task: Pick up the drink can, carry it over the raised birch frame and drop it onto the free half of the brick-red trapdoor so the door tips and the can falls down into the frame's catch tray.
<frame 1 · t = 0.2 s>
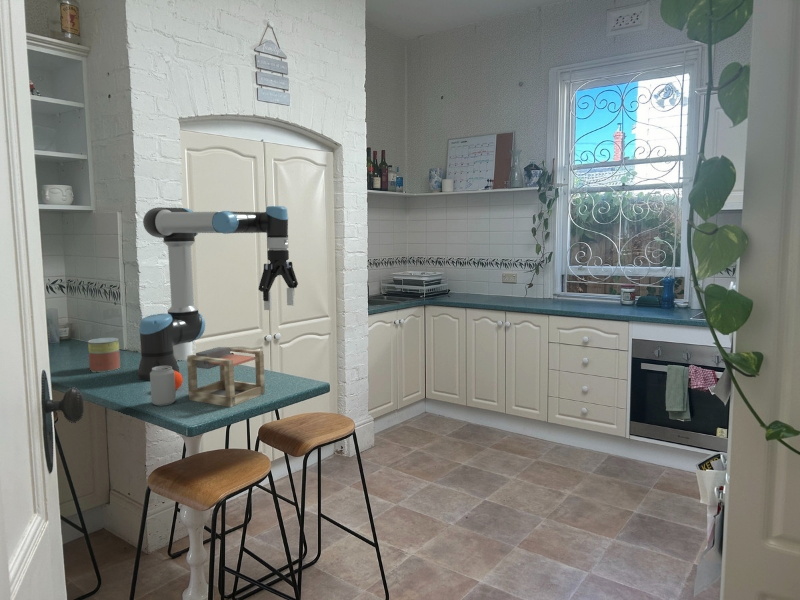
hand: (279, 307, 216), 28 cm above the breakfast bar, fingers open, 13 cm apart
can: (163, 403, 194), on the breakfast bar
clementine: (172, 390, 210), on the breakfast bar
trapdoor: (226, 359, 199), point 13 cm above the breakfast bar, hinge at 0.0°
canned food: (105, 369, 240), on the breakfast bar
mug: (185, 358, 259), on the breakfast bar
frame: (227, 396, 201), on the breakfast bar
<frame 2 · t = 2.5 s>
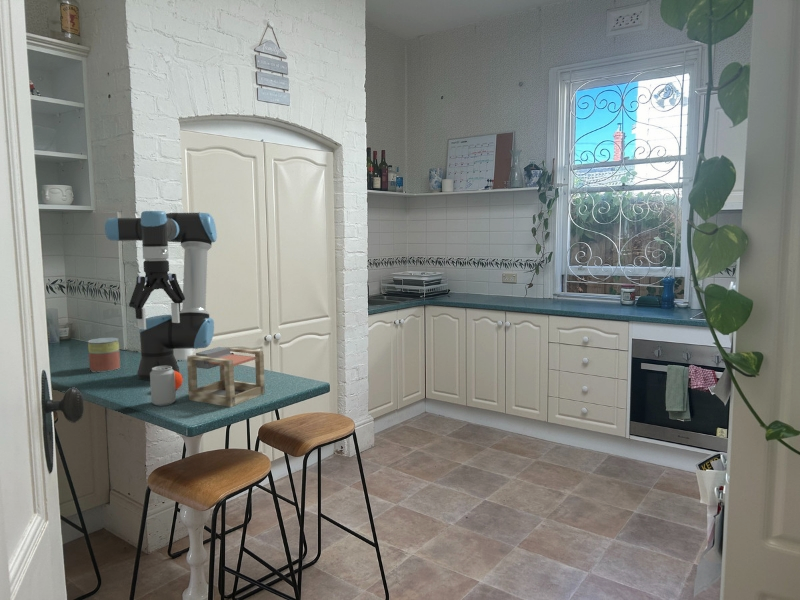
hand: (159, 325, 190), 26 cm above the breakfast bar, fingers open, 13 cm apart
nothing on the breakfast bar moved.
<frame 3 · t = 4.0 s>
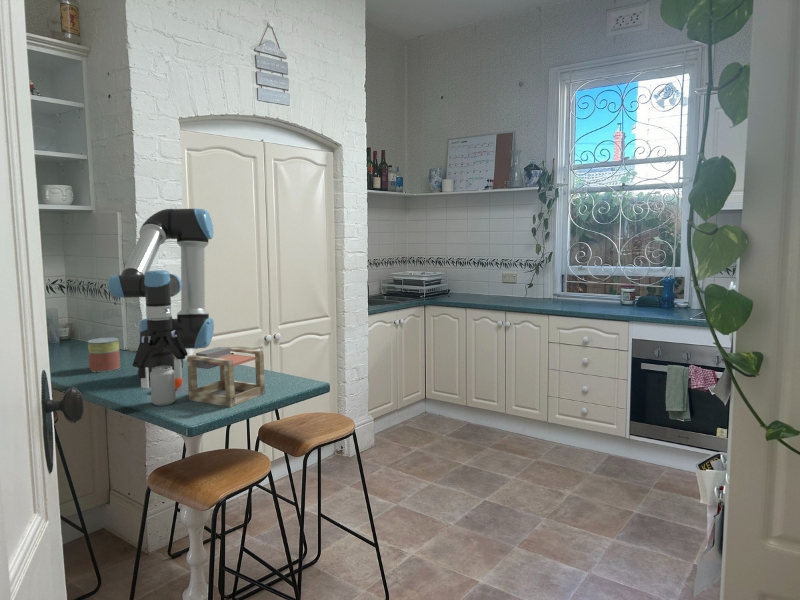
hand: (162, 383, 193), 7 cm above the breakfast bar, fingers open, 13 cm apart
nothing on the breakfast bar moved.
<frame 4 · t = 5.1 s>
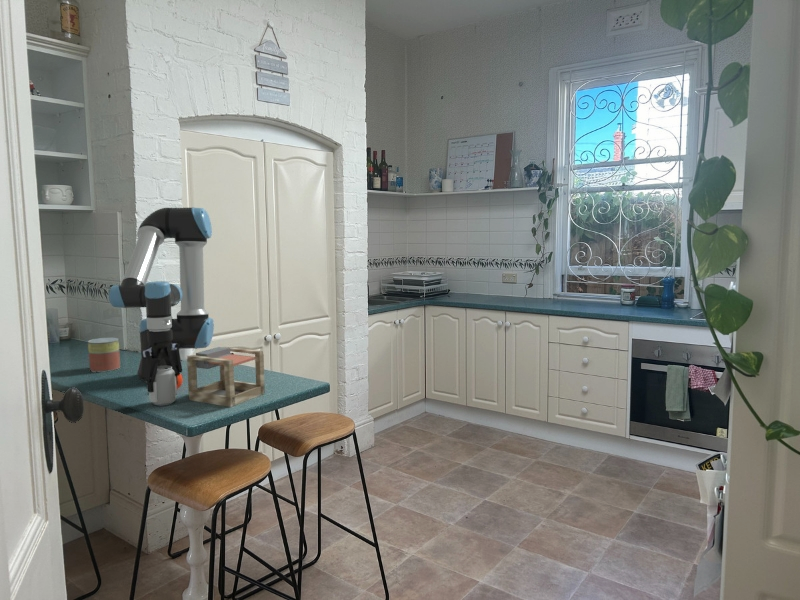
hand: (163, 398, 194), 2 cm above the breakfast bar, fingers closed on can, 7 cm apart
can: (163, 403, 194), on the breakfast bar, touching gripper
everything else where it was.
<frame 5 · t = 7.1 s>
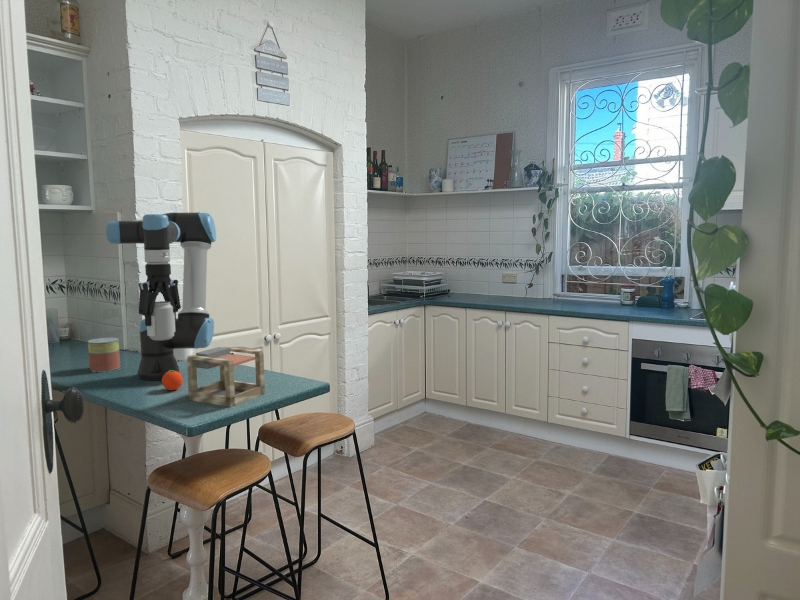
hand: (161, 333, 191), 23 cm above the breakfast bar, fingers closed on can, 7 cm apart
can: (162, 339, 191), point 21 cm above the breakfast bar, touching gripper
everything else where it was.
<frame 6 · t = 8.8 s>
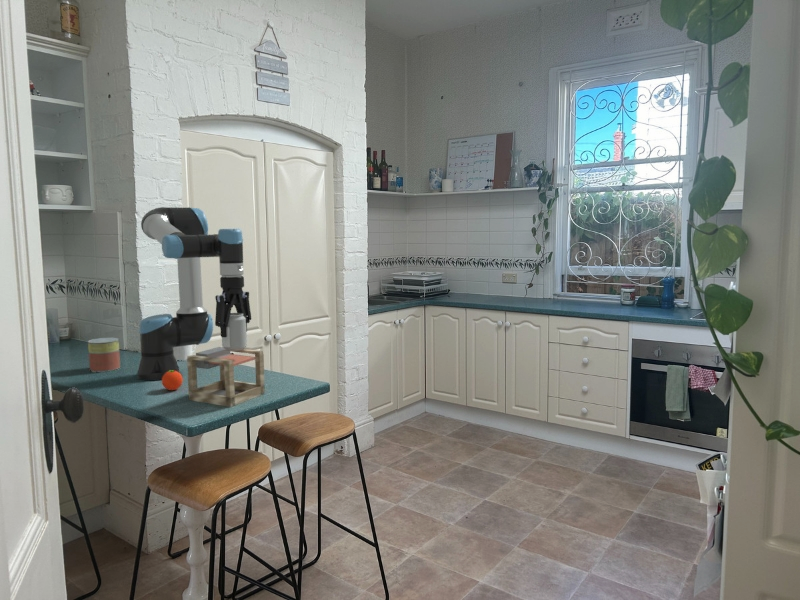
hand: (234, 344, 197), 18 cm above the breakfast bar, fingers closed on can, 7 cm apart
can: (235, 349, 197), point 17 cm above the breakfast bar, touching gripper
everything else where it was.
when the fingers open (18 cm above the breakfast bar, at t = 9.2 s): can drops 6 cm, resting on trapdoor.
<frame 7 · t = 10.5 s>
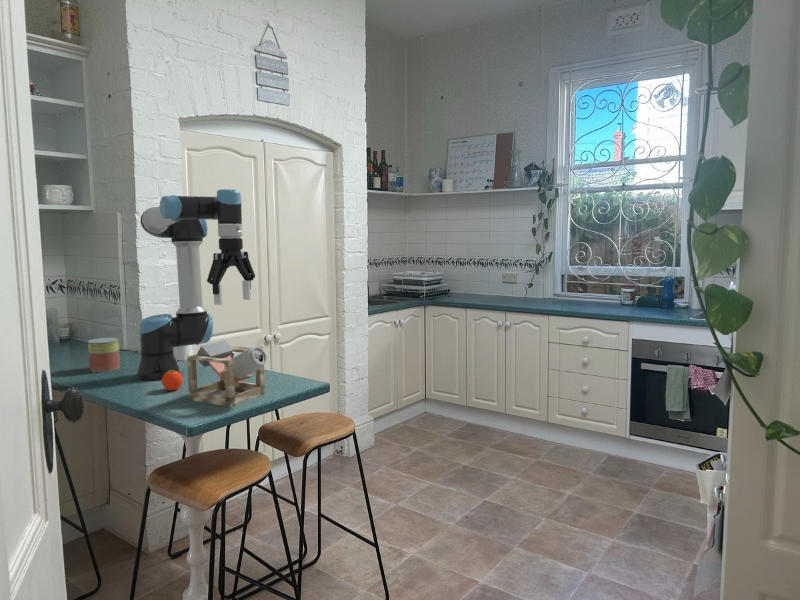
hand: (233, 302, 195), 33 cm above the breakfast bar, fingers open, 13 cm apart
can: (235, 369, 198), point 10 cm above the breakfast bar, touching trapdoor
trapdoor: (224, 364, 200), point 11 cm above the breakfast bar, hinge at -37.9°, touching can
everything else where it was.
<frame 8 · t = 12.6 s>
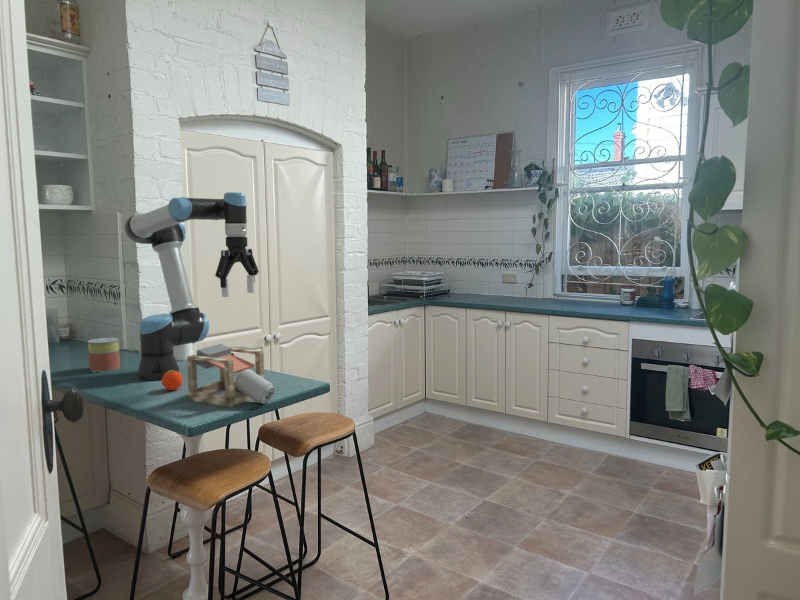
hand: (238, 294, 215), 33 cm above the breakfast bar, fingers open, 13 cm apart
can: (240, 377, 195), point 8 cm above the breakfast bar, touching frame
trapdoor: (225, 361, 199), point 12 cm above the breakfast bar, hinge at -14.3°
everything else where it was.
at the end: can point 7.9 cm above the breakfast bar; can 7.4 cm from the frame (horizontally); the gripper is holding nothing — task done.
